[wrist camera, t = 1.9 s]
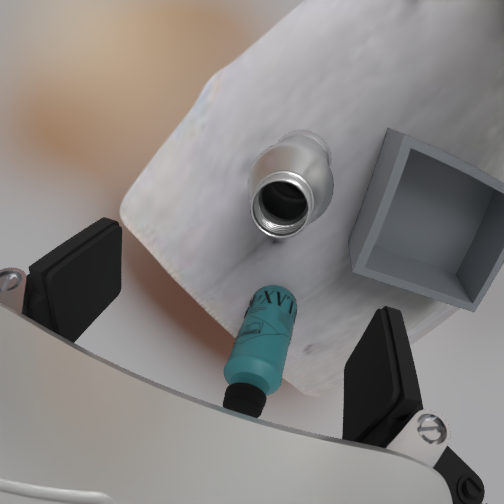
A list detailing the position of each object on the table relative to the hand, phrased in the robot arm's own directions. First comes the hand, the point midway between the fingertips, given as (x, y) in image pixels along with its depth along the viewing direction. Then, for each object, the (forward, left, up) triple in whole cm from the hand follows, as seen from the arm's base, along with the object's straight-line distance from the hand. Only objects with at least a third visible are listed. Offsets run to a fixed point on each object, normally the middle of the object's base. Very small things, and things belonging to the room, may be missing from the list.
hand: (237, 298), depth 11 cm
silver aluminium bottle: (0, 0, -29) cm, 29 cm away
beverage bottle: (+20, +2, -29) cm, 35 cm away
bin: (+1, +17, -29) cm, 34 cm away
